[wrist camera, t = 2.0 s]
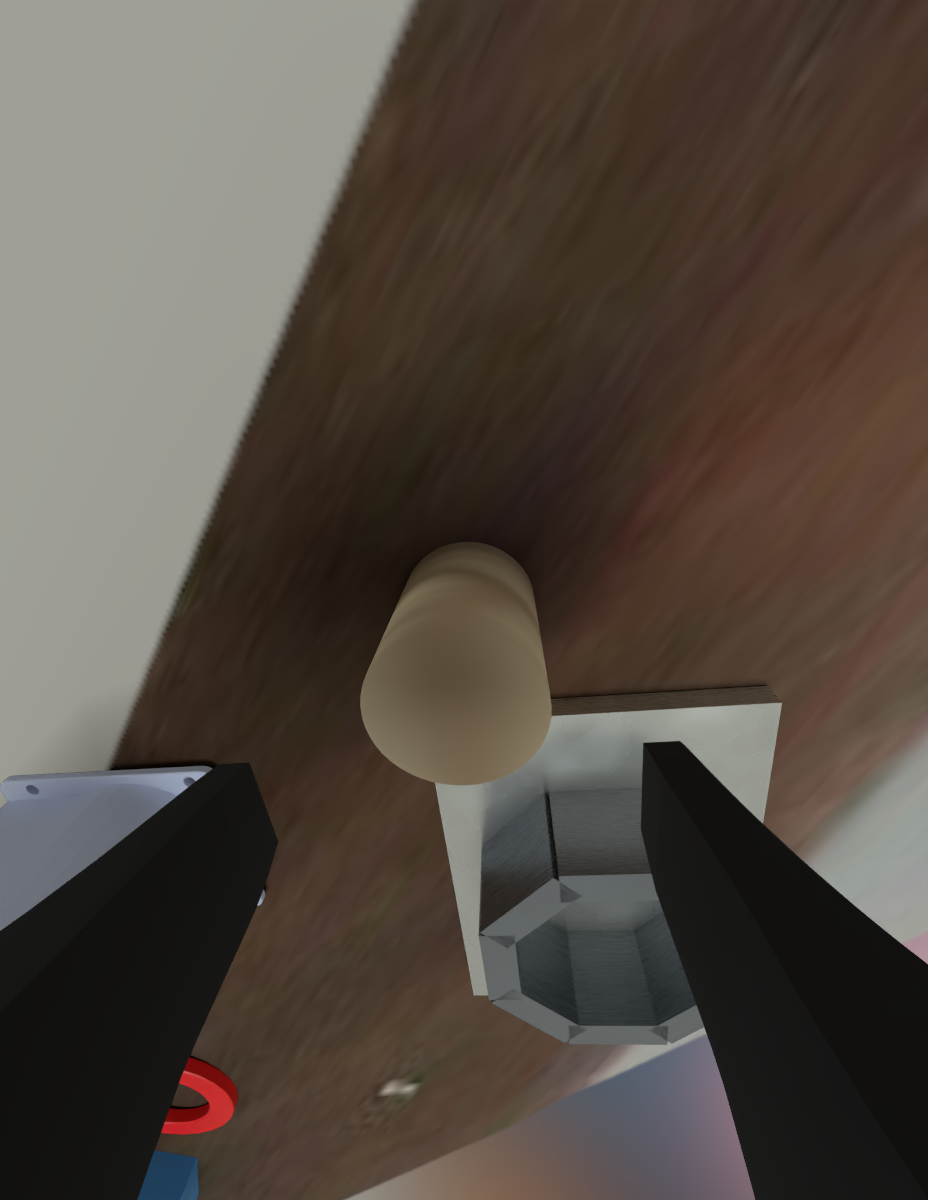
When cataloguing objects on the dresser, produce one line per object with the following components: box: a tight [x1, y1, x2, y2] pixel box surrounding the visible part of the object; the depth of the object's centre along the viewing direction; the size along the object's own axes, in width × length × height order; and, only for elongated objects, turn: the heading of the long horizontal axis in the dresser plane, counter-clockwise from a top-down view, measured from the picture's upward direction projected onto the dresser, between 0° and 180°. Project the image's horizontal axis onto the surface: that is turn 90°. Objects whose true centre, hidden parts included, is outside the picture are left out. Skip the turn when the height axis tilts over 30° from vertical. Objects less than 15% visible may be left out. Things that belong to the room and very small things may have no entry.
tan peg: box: [360, 542, 552, 785], centre depth 14 cm, size 4×4×6 cm
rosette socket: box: [435, 686, 782, 1045], centre depth 19 cm, size 12×16×4 cm
